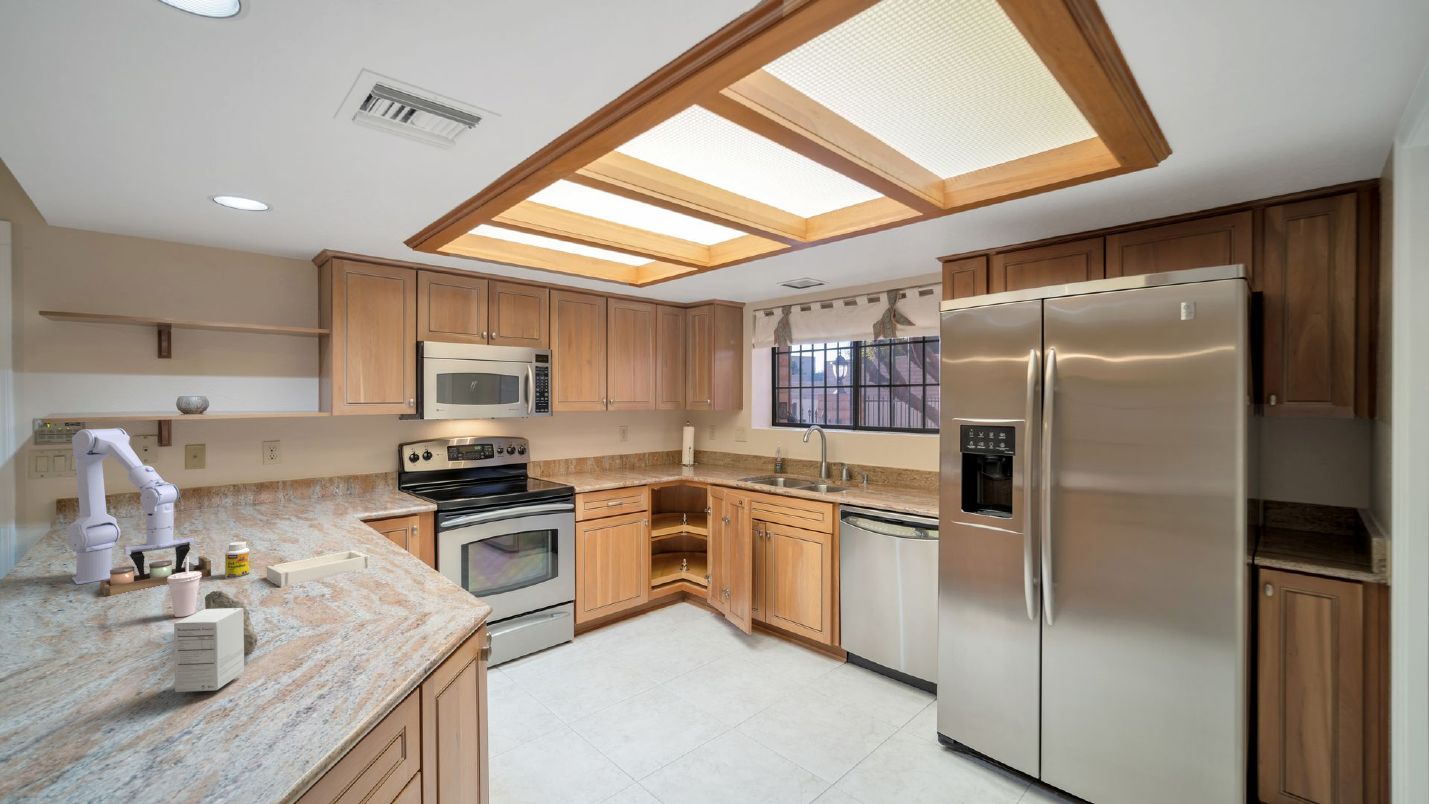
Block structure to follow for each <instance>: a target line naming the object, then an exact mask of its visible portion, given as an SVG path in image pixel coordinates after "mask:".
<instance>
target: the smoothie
mask: <svg viewBox="0 0 1429 804" xmlns="http://www.w3.org/2000/svg"><path fill="white" fill-rule="evenodd" d="M185 562H186V572H183V573H177V574H173V575H171V576H168V577H167V582H169V584H168V586H169V591H170V597H171V602H172V603H171V604H172V607H173V613H174V617H176V618H183V617H189V616H191V615H193V614H195V613H196V607H197V601H198V600H197V599H198V593H199V588H200V587H199V586H200V579H201V578H200V577H202V573H201V572H199V571H190V572H189V562H190V556H187V555H186V557H185Z"/></svg>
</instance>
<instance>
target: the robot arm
mask: <svg viewBox="0 0 1429 804" xmlns="http://www.w3.org/2000/svg"><path fill="white" fill-rule="evenodd" d="M130 439H131V437H130V436H129V435H128V433H127V432H126V431H125V429H123V428H120V427H114V428H97V429H96V428H94V429H93V428H92V429H88V428H85V429H79V430H78V431H77V432H76V433H75V434H74V435H73V436H72V437H71V444H72V455H73V456H72V457H73V458H74V461H75V462H74V464H75V471H76V473H75V474H76V482H77V493H78V494H77V495H78V508H79V517H78V518H77V519H76V520H74V521H73V522H72V523H71V524H70V525H68V534H67V537H66V544H67V546H68V547H69V549H71V550H72V552H76V554H75V555H76V558H75V560H76V563H75V564H76V568H75V569H76V576H72V577H71V579H72V581H73V582H74V583H75V584H76V585H82V584H83V585H84V584H87V583H93V582H94V583H95V582H100V581H106V580H110V570H111V569H113V547H115V546H116V543H117V542H118V541H119V540H120V537H121V533H122V531H121V529H120V527H119V525H118V521H117V518H116V517H114V516H112V515H110V514H108V512H107V501H106V493H105V492H106V491H105V482H104V481H105V480H104V471H103V468H104V467H103V461H104V460H105V459H106V458H107V457H108V456H110V455H111V457H113V458H114V459H115V460H116V461H117V462H118V463H119V464H120V465H121V466H122V467H123V468H124V469H125V470H126V471H128V474H127V479H128V480H129V482H130V483H131V484H132V485H133V486H134V488H136V489H137V491H138V492H139V493H140V494H141V495H140V496H139V500H140V503H141V504H142V506H143V512H144V513H145V515H146V523H145V524H146V526H145V527H146V529H145V530H146V542H145V543H140V544H136V545H131V546H124V547H123V551H124V552H123V553H124V555H125V556H129V557H130V558H131V560H132V561H133V563H134V565H135V567H136V569H137V571H138V575H139V577H140V578H141V579H144V577H145V574H146V573H145V555H144V553H145V552H146V553H147V552H152V551H160V550H166V549H172V548H173V549H174V548H175V569H176V572H181V568H182V566H183V565H184V562H185V560H186V557H187V555H188V553H189V552H190V550H191V546H194V545H195V538H194V537H187V538H178V539H177V538H175V536H174V531H175V530H174V529H175V527H174V526H175V524H174V523H175V521H174V520H175V519H174V515H175V514H174V513H175V510H174V509H175V508H174V507H175V505H174V504H175V503H176V502H178V500H179V497H180V491H179V490H180V489H178V487H177V486H176V485H175V484H174V483H169V482H167V481H164V479H163V478H162V477H161V476H160V475H159V473H158V472H157V471H156V470H155V468H154V467H153V466H150V465H144V464H143V462H142V461H141V459H140V458H139V456H138V455H137V454H136V452H135V451H134V450H133V448H132V446H131V445H130ZM174 538H175V539H174Z"/></svg>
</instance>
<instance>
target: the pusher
mask: <svg viewBox="0 0 1429 804" xmlns="http://www.w3.org/2000/svg"><path fill="white" fill-rule="evenodd" d="M194 565H195V564H194V563H191V562H190V561H189V572H190V571H196V567H194ZM183 567H184V572H186V561H183Z"/></svg>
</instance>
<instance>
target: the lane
mask: <svg viewBox="0 0 1429 804" xmlns="http://www.w3.org/2000/svg"><path fill="white" fill-rule="evenodd" d="M197 559H198V564H196V565H195V564H193V565H194V567H196V571H199V572H201V573H202V577H200V579H202V578H208V577H211V576H212V560H211V559H210V558H207V557H205V556H204V555H199V556H198V557H197ZM183 572H184V566H183V567H181V572H176V568H172V575H173V574H177V573H183ZM144 574H145V577H144V579H141V578H140V577H139V574H136V575H135V574H134V582H130V583H124V584H118V585H113V586H110V579H107V580H101V581H99V582H100V584H99V585H100V588H99V589H100V592H101V593H102V594H103V595H104V597H106V598H107V597H112V595H113V596H117V595H116V594H118V595H123V594H127V593H126V592H128V593H131V592H130V591H133V592H137V590H138V591H142V590H141V589H143V590H146V589H145V588H148V589H153V588H157V587H156V586H158V587H161V586H160V585H163V586H168V585H169V582H167V577H168V576H163V577H158V578H152V579H150V572H148V573H147V572H146V573H144ZM169 576H171V575H169ZM167 584H168V585H167ZM152 587H153V588H152ZM122 593H123V594H122Z"/></svg>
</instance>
